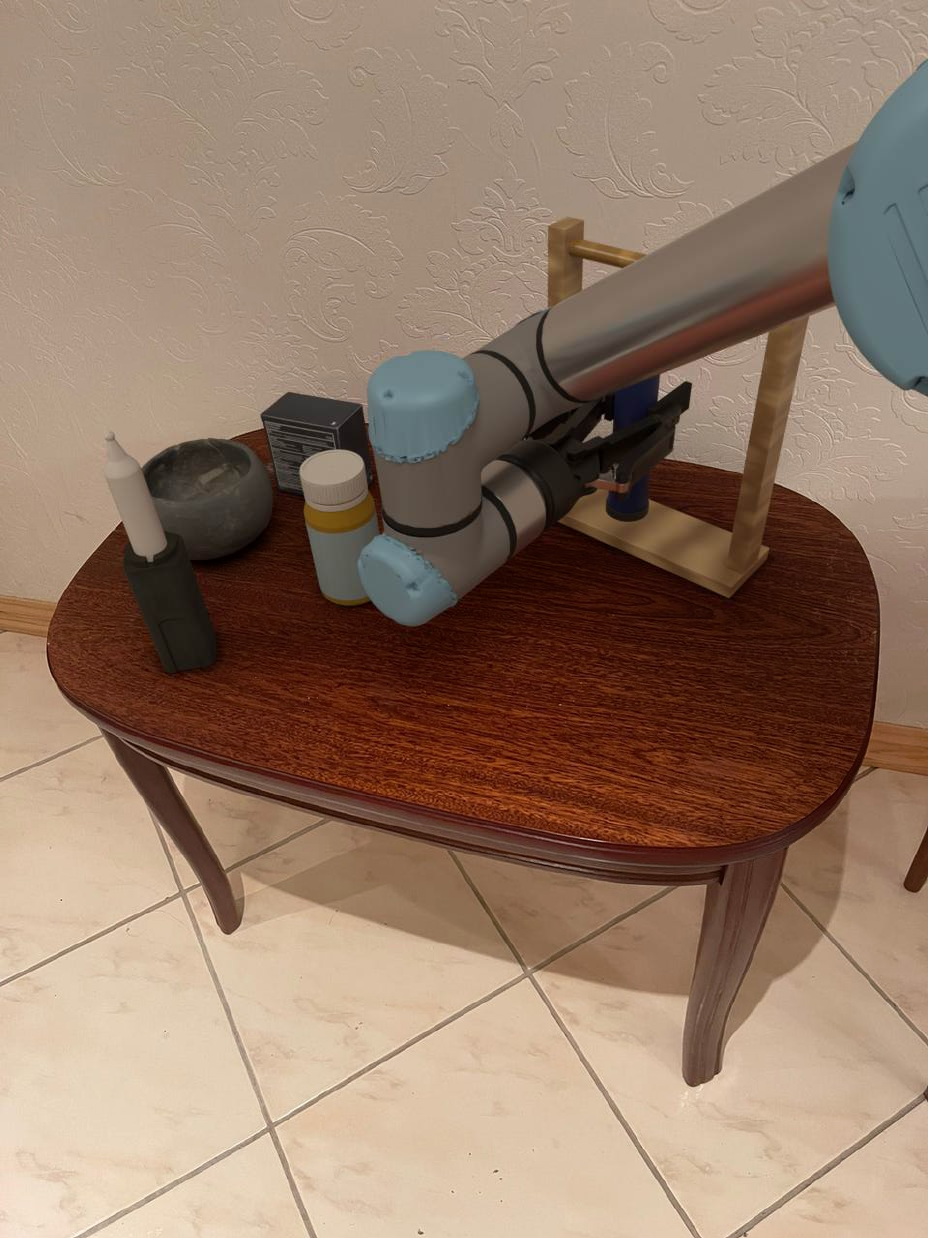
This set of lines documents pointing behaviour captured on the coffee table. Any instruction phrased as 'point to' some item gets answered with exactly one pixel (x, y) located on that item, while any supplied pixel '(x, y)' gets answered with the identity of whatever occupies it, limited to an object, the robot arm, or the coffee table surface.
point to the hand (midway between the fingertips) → (665, 387)
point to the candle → (159, 570)
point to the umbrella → (627, 411)
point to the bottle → (338, 521)
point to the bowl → (210, 495)
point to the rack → (739, 554)
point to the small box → (312, 434)
